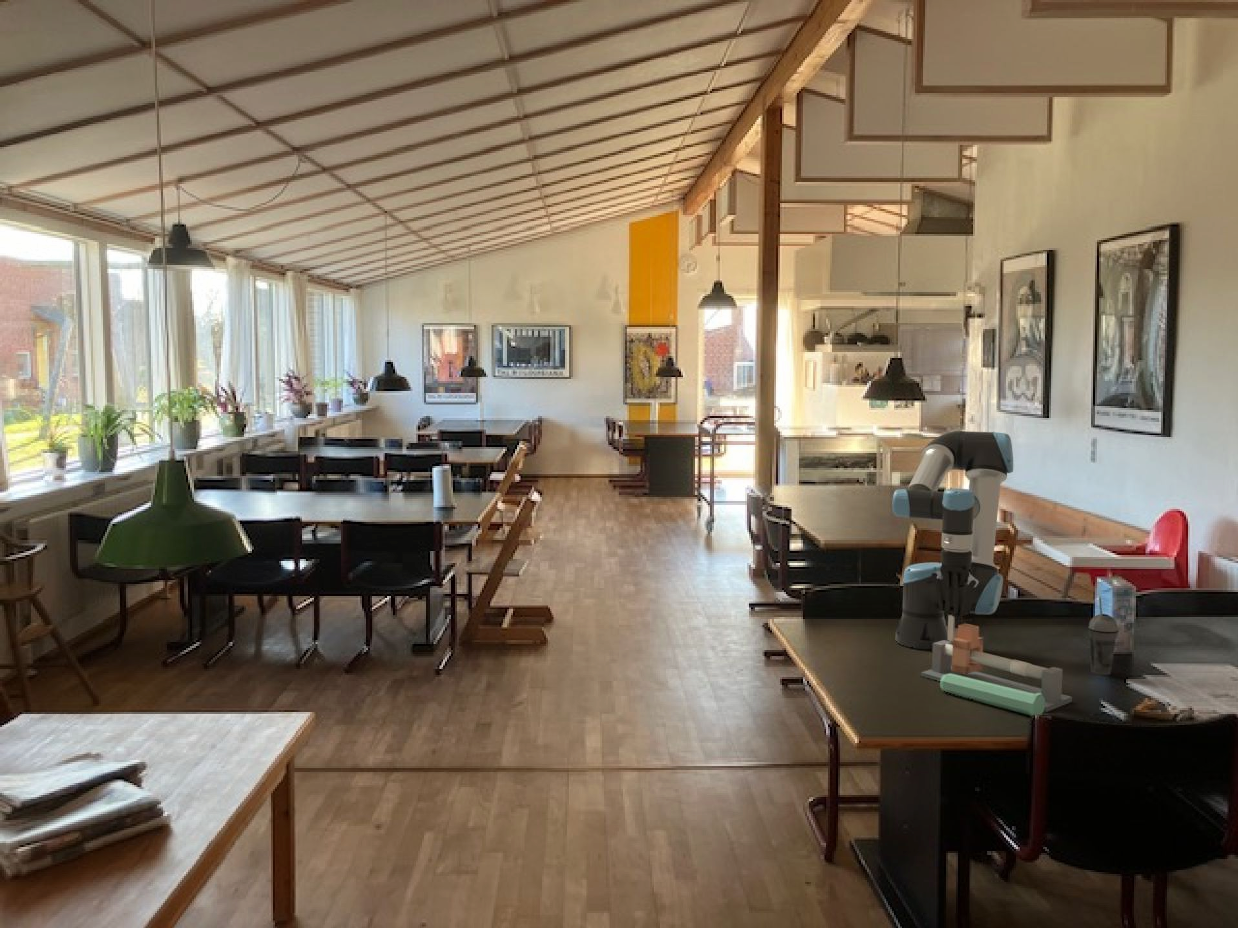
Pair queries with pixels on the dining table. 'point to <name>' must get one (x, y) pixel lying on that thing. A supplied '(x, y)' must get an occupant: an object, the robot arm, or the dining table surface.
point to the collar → (966, 649)
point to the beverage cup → (1102, 642)
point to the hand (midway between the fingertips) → (953, 639)
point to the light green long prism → (993, 694)
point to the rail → (1000, 682)
